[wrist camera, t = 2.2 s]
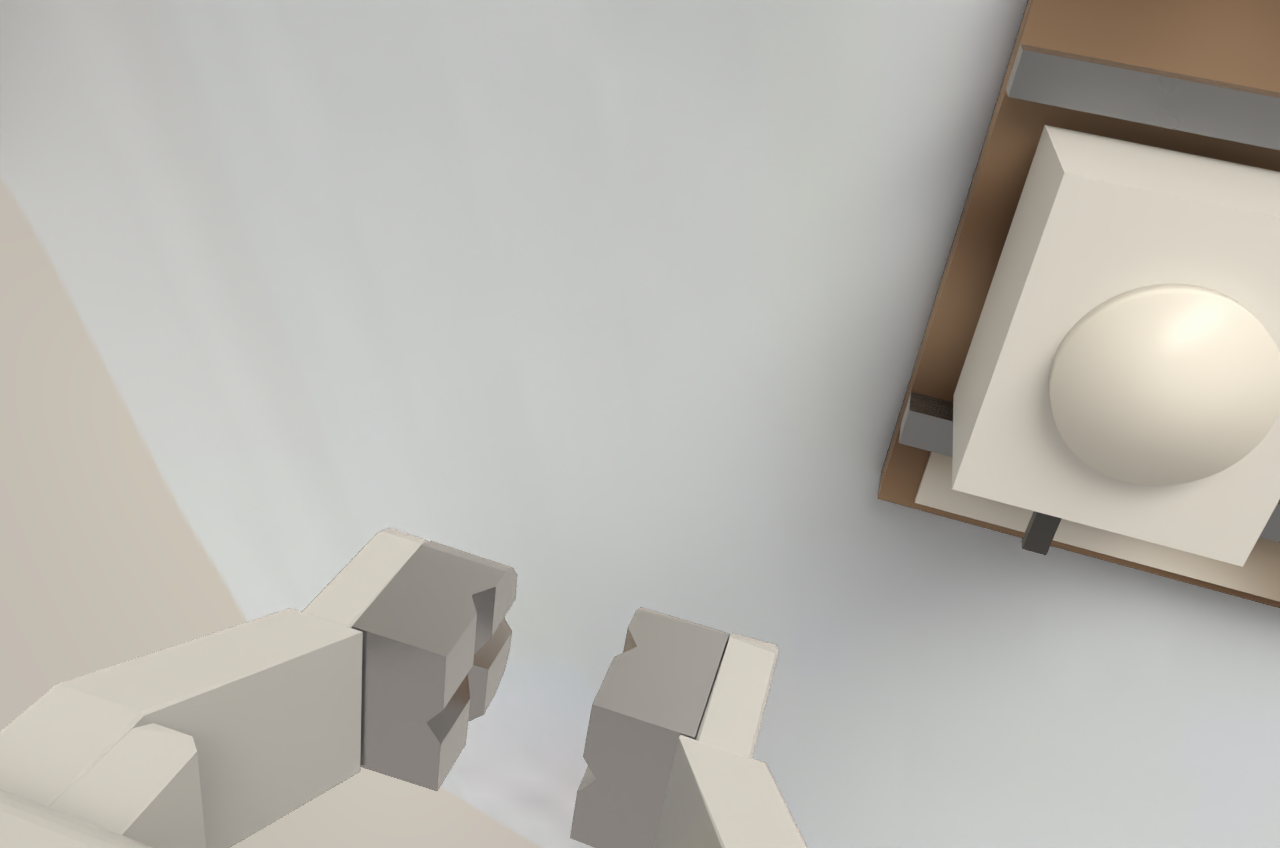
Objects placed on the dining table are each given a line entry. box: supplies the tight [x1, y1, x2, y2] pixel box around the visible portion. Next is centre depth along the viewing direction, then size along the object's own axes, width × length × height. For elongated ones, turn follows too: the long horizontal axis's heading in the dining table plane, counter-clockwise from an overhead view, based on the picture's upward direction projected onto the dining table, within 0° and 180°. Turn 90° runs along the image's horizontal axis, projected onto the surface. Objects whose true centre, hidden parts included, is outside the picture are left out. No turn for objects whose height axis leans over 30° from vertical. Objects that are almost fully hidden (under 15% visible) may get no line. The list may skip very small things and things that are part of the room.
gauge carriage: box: [952, 125, 1280, 567], centre depth 22 cm, size 10×9×6 cm
